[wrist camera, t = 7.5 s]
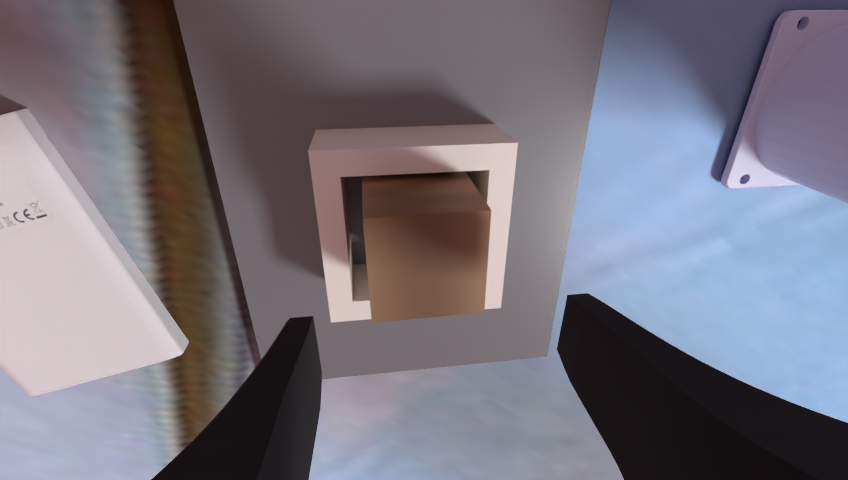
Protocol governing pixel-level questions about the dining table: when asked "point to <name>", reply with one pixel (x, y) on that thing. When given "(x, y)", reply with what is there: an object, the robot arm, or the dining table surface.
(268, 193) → the socket
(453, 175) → the brown rectangular block
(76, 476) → the dining table surface
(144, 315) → the external hard drive
